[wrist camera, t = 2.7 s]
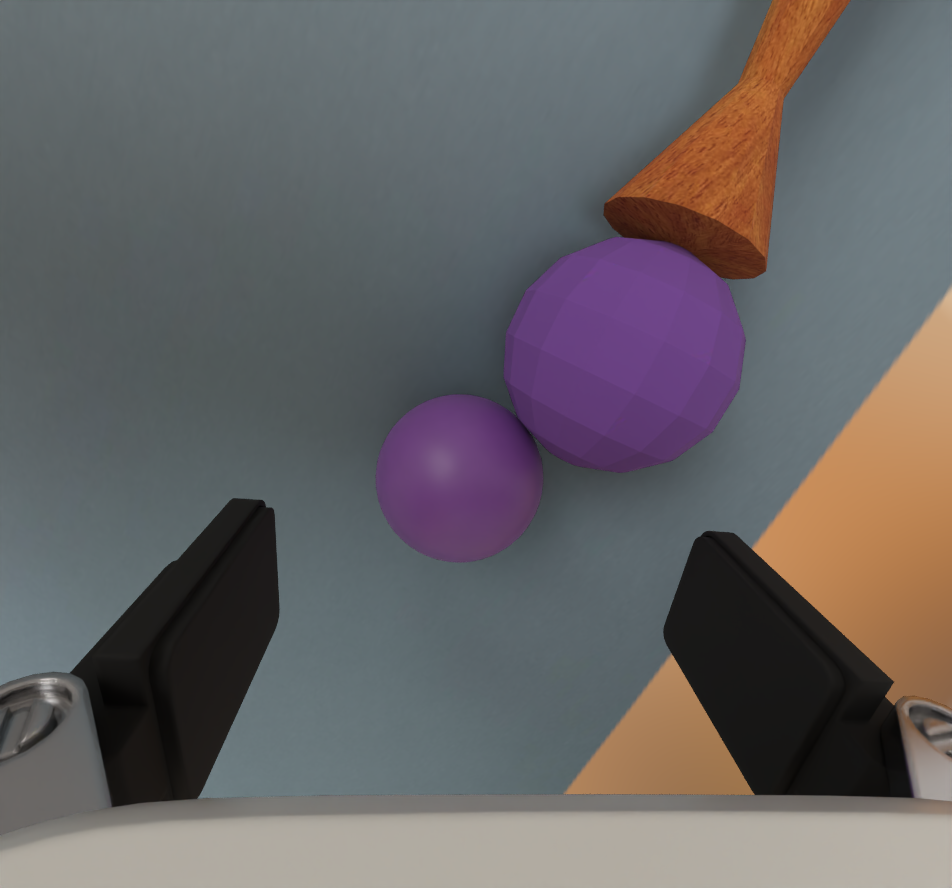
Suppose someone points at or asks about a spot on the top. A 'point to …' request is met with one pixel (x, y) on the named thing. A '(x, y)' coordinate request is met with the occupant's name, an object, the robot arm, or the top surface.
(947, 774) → the robot arm
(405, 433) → the ball
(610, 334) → the purple maraca
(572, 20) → the top surface
